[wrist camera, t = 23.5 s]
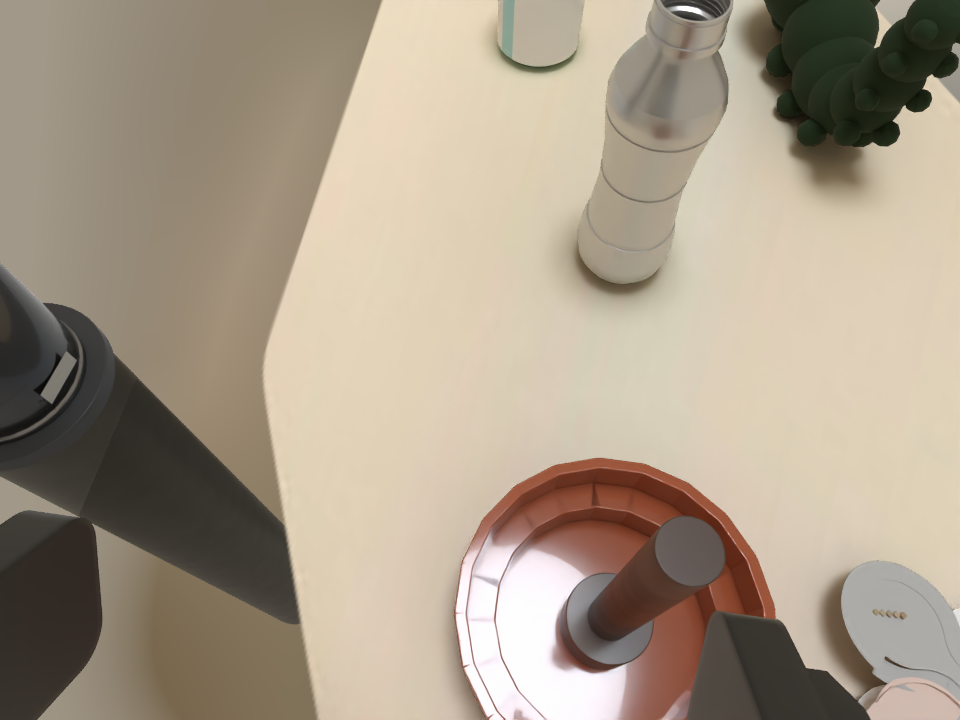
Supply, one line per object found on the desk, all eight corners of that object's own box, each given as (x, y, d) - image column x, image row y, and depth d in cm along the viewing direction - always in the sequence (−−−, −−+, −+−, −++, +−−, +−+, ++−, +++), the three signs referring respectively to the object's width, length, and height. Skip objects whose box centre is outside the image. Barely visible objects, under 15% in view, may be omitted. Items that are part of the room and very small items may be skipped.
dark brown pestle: (556, 663, 36) (615, 614, 20) (563, 577, 38) (621, 473, 22) (640, 675, 36) (766, 636, 20) (642, 589, 38) (759, 491, 22)
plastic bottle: (660, 222, 51) (756, -46, 33) (666, 299, 47) (776, 48, 30) (572, 218, 51) (621, -50, 33) (573, 294, 48) (626, 42, 30)
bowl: (437, 761, 35) (430, 767, 30) (479, 474, 42) (479, 441, 37) (744, 811, 34) (788, 825, 29) (733, 508, 41) (767, 479, 36)
